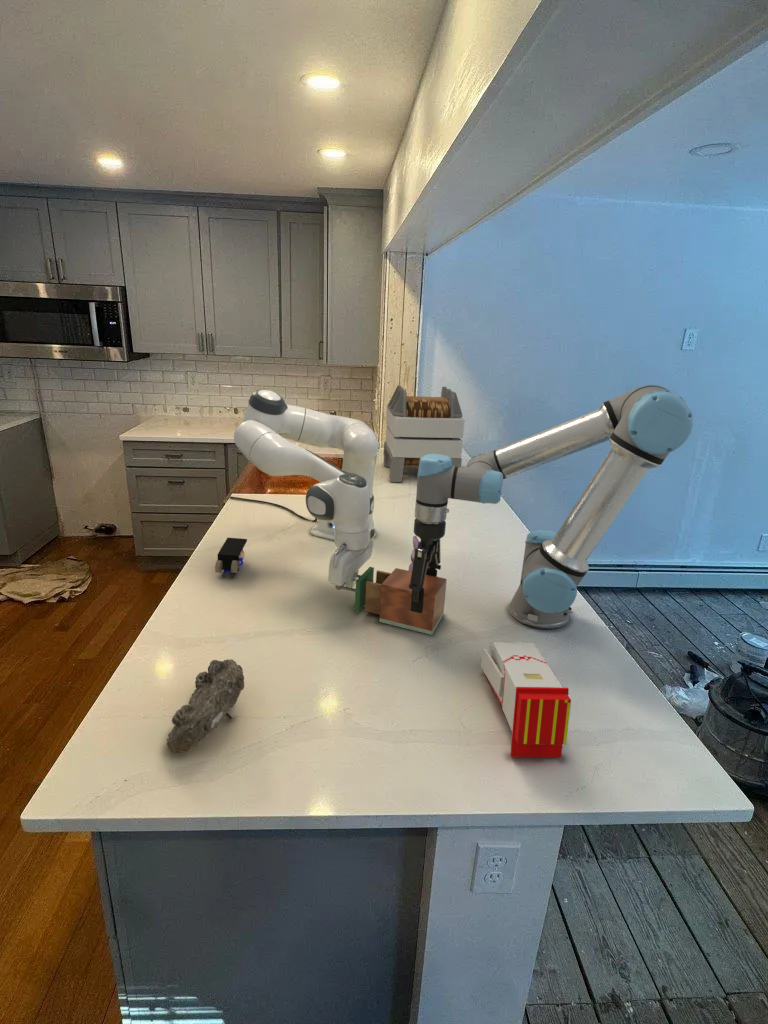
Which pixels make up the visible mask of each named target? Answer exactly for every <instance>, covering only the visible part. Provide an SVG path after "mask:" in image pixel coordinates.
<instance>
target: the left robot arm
mask: <svg viewBox="0 0 768 1024" xmlns="http://www.w3.org/2000/svg"><path fill="white" fill-rule="evenodd" d="M233 441H234V444H235V446H236V447H237V449H238V450H239V452H240V453H241V454H242V455H243V457H245V458H246V459H247V460H248V462H250V463H251V464H252V465H253V466H254V467H256V468H257V469H258V470H259V471H261V472H263V473H264V474H267V475H268V476H272V477H287V476H288V477H289V476H304V477H309V478H312V479H314V480H316V481H318V482H317V483H315V484H313V485H311V486H309V488H308V489H307V491H306V494H305V505H306V509H307V511H308V512H309V514H310V516H312V517H313V518H314V519H308V518H306V517H305V516H302V515H300V514H298V513H297V512H295V511H294V510H293V509H291V508H288V507H286V506H283V505H280V504H278V503H274V502H269V501H264V500H258V499H250V498H243V497H236V496H229V499H233V500H239V501H247V502H252V503H253V502H254V503H261V504H266V505H271V506H275V507H279V508H282V509H284V510H286V511H288V512H290V513H291V514H293V515H294V516H296V517H298V518H300V519H302V520H305V521H308V522H312V523H315V524H314V525H313V526H312V528H311V530H310V533H311V536H315V537H319V538H323V539H326V540H330V541H334V543H333V544H334V546H335V547H336V548H337V549H335V551H334V553H333V554H331V556H330V558H329V563H328V577H327V578H328V579H327V580H328V582H329V584H330V585H333V586H336V585H337V586H342V585H343V584H344V583H345V582H346V584H345V587H349V588H353V587H354V586H356V580H357V579H358V577H357V575H359V571H360V569H361V568H362V567H363V566H364V565H365V564H366V563H368V561H369V560H371V558H372V555H373V551H374V538H375V537H376V535H377V532H376V528H375V523H374V513H373V512H374V509H375V496H374V476H375V475H374V474H375V468H376V463H377V457H378V453H379V450H380V448H379V447H380V444H379V438H378V436H377V434H376V432H375V431H373V430H372V428H370V426H369V425H367V424H366V422H364V421H362V420H360V419H356V418H352V417H346V416H341V415H335V414H331V413H326V412H321V411H318V410H314V409H310V408H307V407H303V406H300V405H294V404H288V403H287V404H286V401H285V399H284V398H283V396H282V395H280V394H279V393H278V392H276V391H274V390H270V389H267V388H266V389H265V388H259V389H257V390H254V391H253V392H252V393H251V395H250V397H249V399H248V404H247V406H246V409H245V412H244V416H243V418H242V422H241V423H239V425H238V426H237V427H236V428H235V430H234V433H233ZM291 441H294V442H297V443H301V444H305V445H310V446H313V447H317V448H328V449H335V450H342V451H343V458H342V465H341V468H340V467H338V466H337V465H335V464H333V463H332V462H330V461H329V460H327V459H325V458H324V457H322V456H320V455H319V454H317V453H315V452H313V451H311V450H308V449H307V448H304V447H301V446H299V445H297V444H295V443H293V442H291ZM316 522H317V523H316Z"/></svg>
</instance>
